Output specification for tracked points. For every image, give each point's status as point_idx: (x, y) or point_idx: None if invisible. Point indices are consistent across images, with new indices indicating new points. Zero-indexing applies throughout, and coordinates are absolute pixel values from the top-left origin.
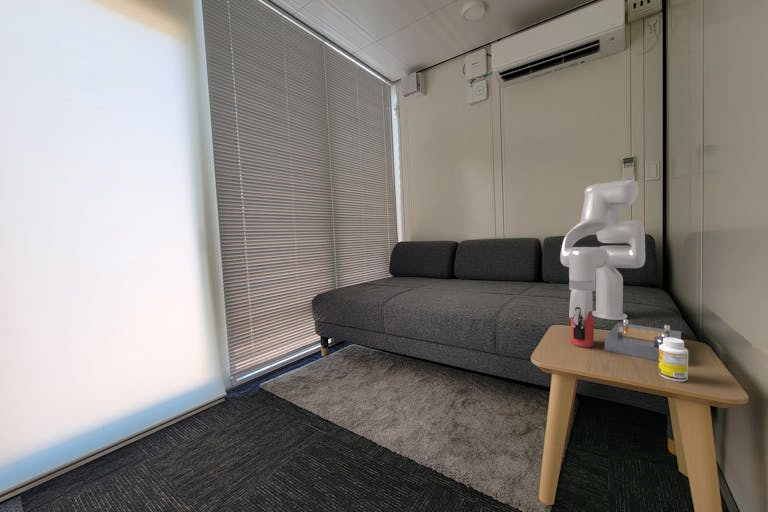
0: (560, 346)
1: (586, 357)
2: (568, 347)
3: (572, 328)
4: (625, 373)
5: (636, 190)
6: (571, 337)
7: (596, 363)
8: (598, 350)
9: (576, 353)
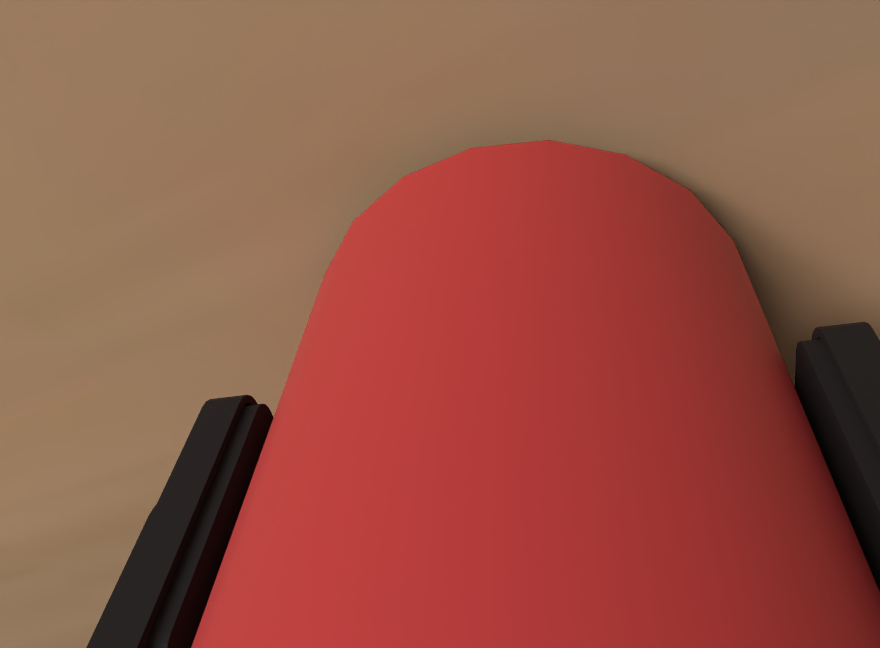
0: (50, 85)
1: (49, 520)
2: (158, 216)
3: (246, 513)
4: None
5: None
6: (364, 261)
7: (2, 620)
8: None
9: (41, 403)
